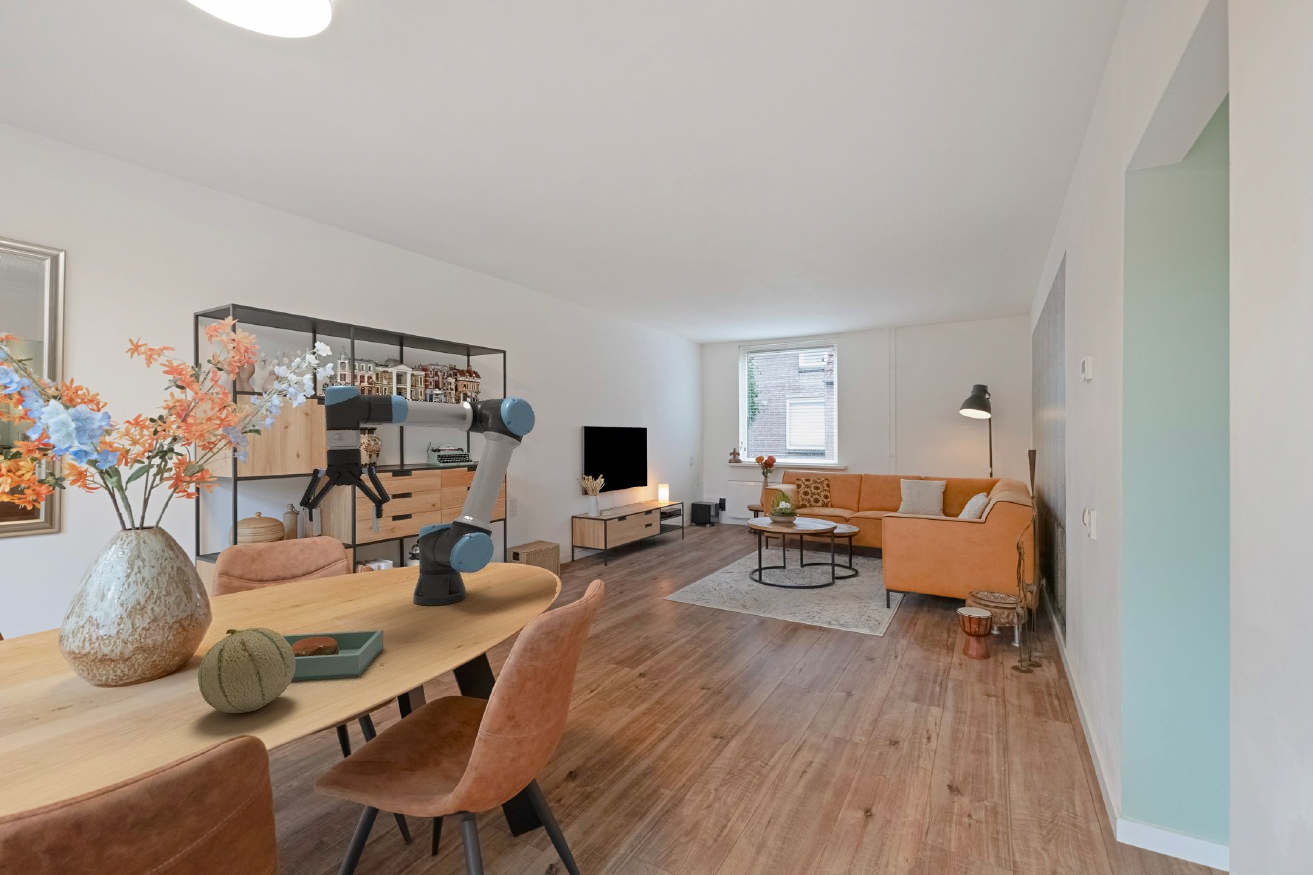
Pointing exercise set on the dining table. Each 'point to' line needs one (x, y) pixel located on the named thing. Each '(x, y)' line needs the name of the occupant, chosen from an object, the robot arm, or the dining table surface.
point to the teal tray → (339, 655)
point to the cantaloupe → (246, 670)
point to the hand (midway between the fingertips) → (346, 533)
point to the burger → (315, 647)
